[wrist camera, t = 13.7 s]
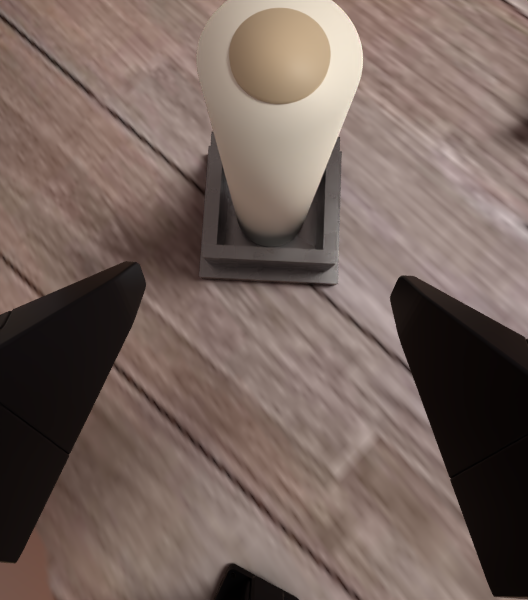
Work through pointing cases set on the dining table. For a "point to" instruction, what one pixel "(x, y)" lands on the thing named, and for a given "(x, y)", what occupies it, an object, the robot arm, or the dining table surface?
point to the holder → (279, 259)
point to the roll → (277, 104)
